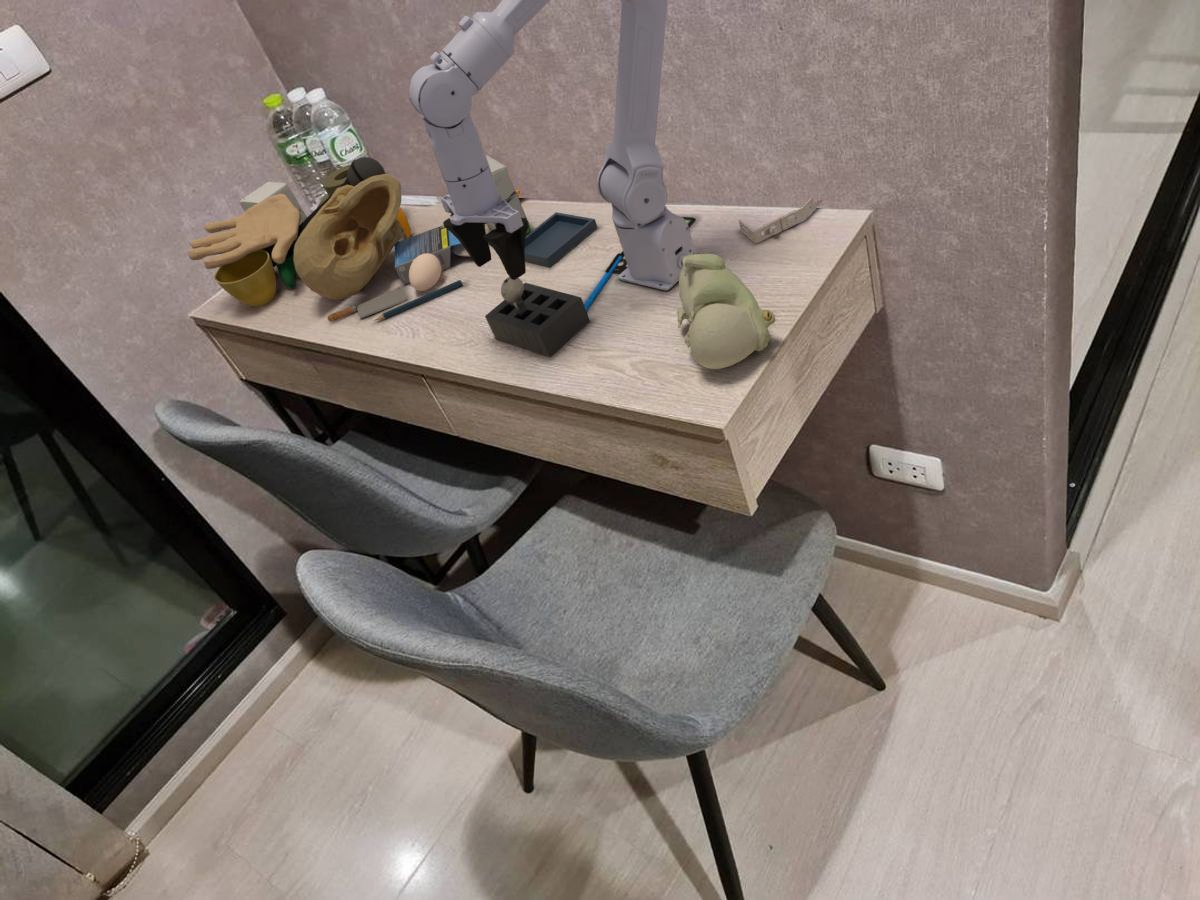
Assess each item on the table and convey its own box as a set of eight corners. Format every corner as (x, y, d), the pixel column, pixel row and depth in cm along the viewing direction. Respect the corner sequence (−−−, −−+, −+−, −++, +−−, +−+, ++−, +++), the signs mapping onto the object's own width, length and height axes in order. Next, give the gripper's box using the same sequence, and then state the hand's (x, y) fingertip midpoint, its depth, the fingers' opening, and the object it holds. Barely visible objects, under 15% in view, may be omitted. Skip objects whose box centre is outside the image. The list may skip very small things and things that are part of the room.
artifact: (453, 242, 147) (455, 269, 139) (446, 228, 145) (448, 255, 138) (490, 227, 146) (494, 253, 139) (484, 213, 145) (487, 239, 137)
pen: (627, 254, 126) (625, 247, 125) (571, 335, 115) (569, 329, 114) (622, 254, 126) (619, 247, 126) (566, 335, 116) (563, 328, 115)
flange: (396, 158, 151) (358, 150, 161) (328, 201, 146) (292, 190, 156) (408, 182, 154) (369, 172, 164) (341, 225, 149) (306, 213, 159)
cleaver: (409, 303, 137) (404, 289, 141) (406, 296, 136) (401, 282, 140) (332, 335, 136) (329, 320, 140) (328, 329, 135) (325, 314, 139)
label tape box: (403, 285, 140) (473, 262, 140) (393, 264, 138) (464, 241, 137) (403, 260, 147) (470, 238, 147) (393, 240, 144) (461, 217, 144)
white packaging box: (294, 262, 162) (256, 203, 154) (273, 258, 166) (236, 201, 158) (322, 241, 165) (287, 182, 157) (302, 237, 170) (267, 180, 162)
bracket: (833, 173, 120) (738, 220, 119) (855, 187, 115) (756, 235, 115) (835, 185, 121) (741, 231, 120) (857, 199, 116) (759, 247, 116)
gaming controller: (334, 269, 158) (315, 245, 159) (332, 260, 155) (312, 235, 155) (292, 296, 156) (272, 271, 156) (288, 287, 152) (268, 261, 152)
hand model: (278, 187, 157) (187, 250, 154) (265, 169, 153) (171, 233, 150) (325, 241, 149) (229, 309, 146) (312, 223, 145) (213, 292, 142)
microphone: (307, 254, 151) (386, 181, 145) (281, 224, 149) (359, 149, 143) (322, 248, 157) (398, 178, 151) (296, 219, 155) (372, 147, 149)
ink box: (533, 231, 140) (506, 164, 132) (507, 245, 139) (479, 179, 131) (513, 216, 146) (486, 152, 139) (488, 230, 145) (460, 166, 138)
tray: (597, 227, 134) (594, 218, 133) (550, 267, 130) (546, 258, 129) (559, 220, 140) (555, 212, 139) (512, 258, 136) (508, 249, 135)
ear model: (367, 143, 136) (326, 213, 151) (304, 214, 125) (266, 282, 140) (433, 195, 140) (386, 258, 155) (378, 269, 129) (333, 329, 144)
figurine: (698, 326, 91) (790, 322, 92) (678, 236, 102) (760, 233, 103) (690, 393, 99) (775, 389, 100) (672, 303, 110) (748, 300, 110)
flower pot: (258, 320, 149) (237, 286, 144) (225, 311, 154) (203, 278, 149) (299, 286, 154) (280, 252, 149) (265, 279, 159) (245, 246, 154)
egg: (427, 242, 135) (410, 274, 132) (452, 260, 137) (436, 292, 134) (413, 252, 138) (397, 284, 136) (437, 270, 141) (422, 301, 138)
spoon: (543, 330, 118) (518, 271, 111) (527, 345, 116) (500, 286, 110) (540, 329, 118) (515, 271, 112) (523, 344, 117) (496, 285, 110)
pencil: (462, 284, 134) (374, 322, 134) (463, 285, 135) (376, 323, 135) (459, 279, 134) (372, 317, 134) (461, 281, 135) (374, 318, 135)
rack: (590, 321, 116) (581, 297, 113) (550, 357, 112) (539, 333, 110) (535, 305, 123) (525, 282, 121) (495, 338, 120) (484, 316, 117)
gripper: (408, 177, 105) (446, 272, 114) (474, 195, 96) (510, 298, 105) (452, 152, 108) (487, 246, 117) (521, 168, 99) (552, 269, 107)
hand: (501, 269), depth 111 cm, fingers open, 7 cm apart
